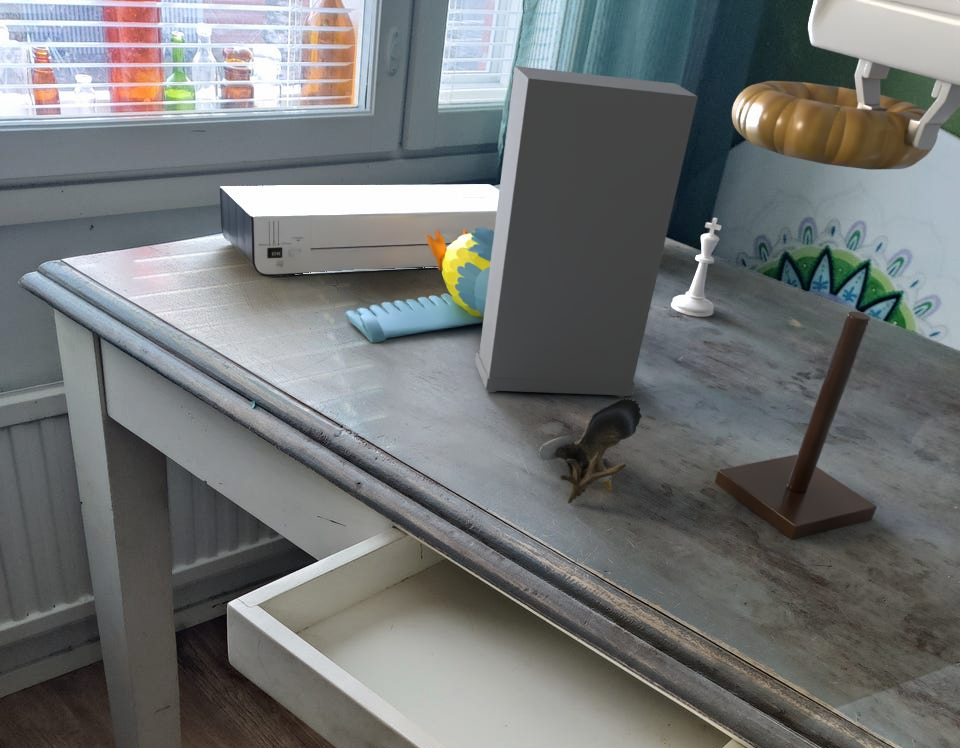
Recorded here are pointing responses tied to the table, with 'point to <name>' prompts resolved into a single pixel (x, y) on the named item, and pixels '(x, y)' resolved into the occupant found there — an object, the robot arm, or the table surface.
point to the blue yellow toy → (466, 305)
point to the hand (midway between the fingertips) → (889, 138)
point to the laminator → (350, 224)
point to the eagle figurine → (594, 446)
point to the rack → (807, 462)
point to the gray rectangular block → (580, 229)
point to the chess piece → (699, 279)
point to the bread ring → (826, 125)
